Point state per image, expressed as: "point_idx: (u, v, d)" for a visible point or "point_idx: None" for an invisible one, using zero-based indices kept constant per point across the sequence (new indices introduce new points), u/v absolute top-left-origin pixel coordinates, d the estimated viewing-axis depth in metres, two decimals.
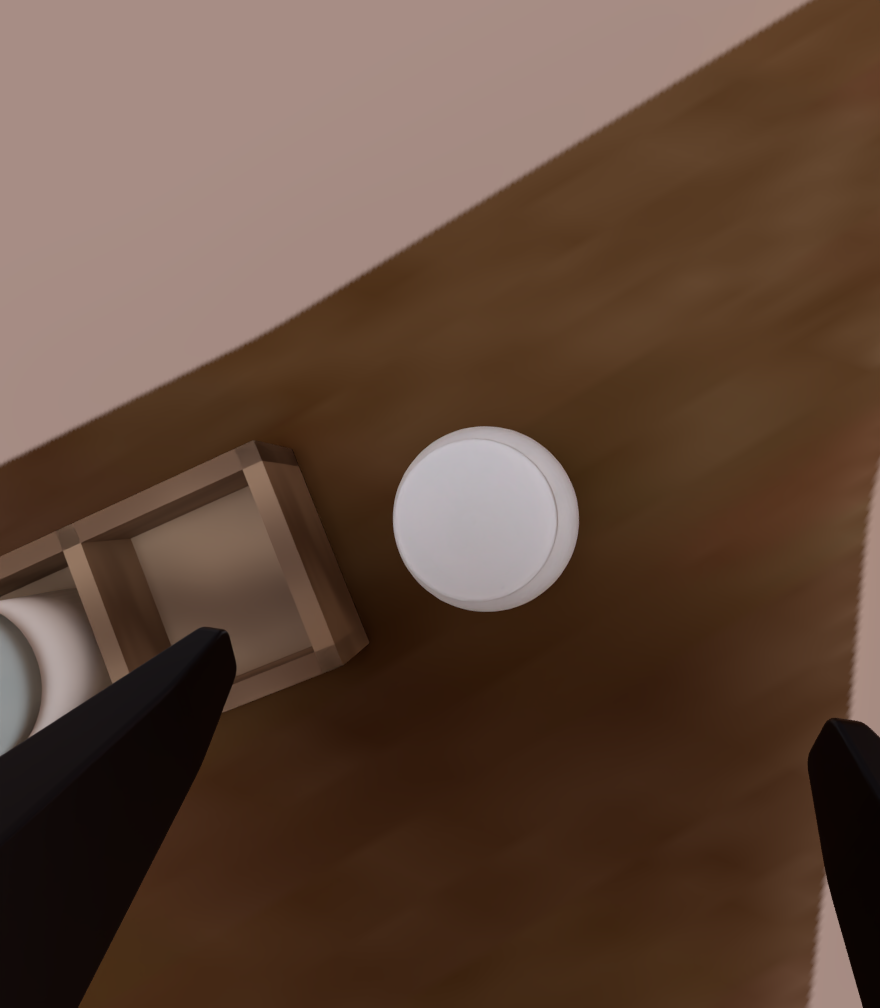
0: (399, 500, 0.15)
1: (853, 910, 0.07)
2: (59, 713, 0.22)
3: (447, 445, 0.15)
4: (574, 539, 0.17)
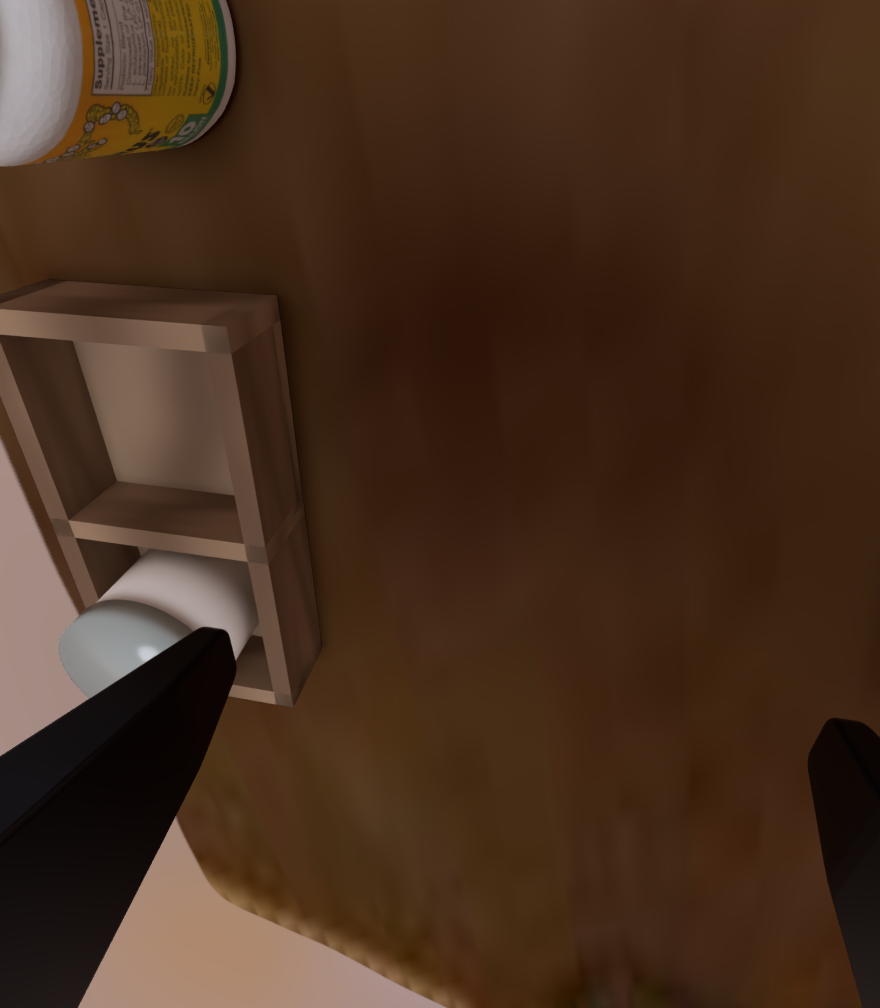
0: None
1: (853, 910, 0.07)
2: (207, 607, 0.23)
3: None
4: None
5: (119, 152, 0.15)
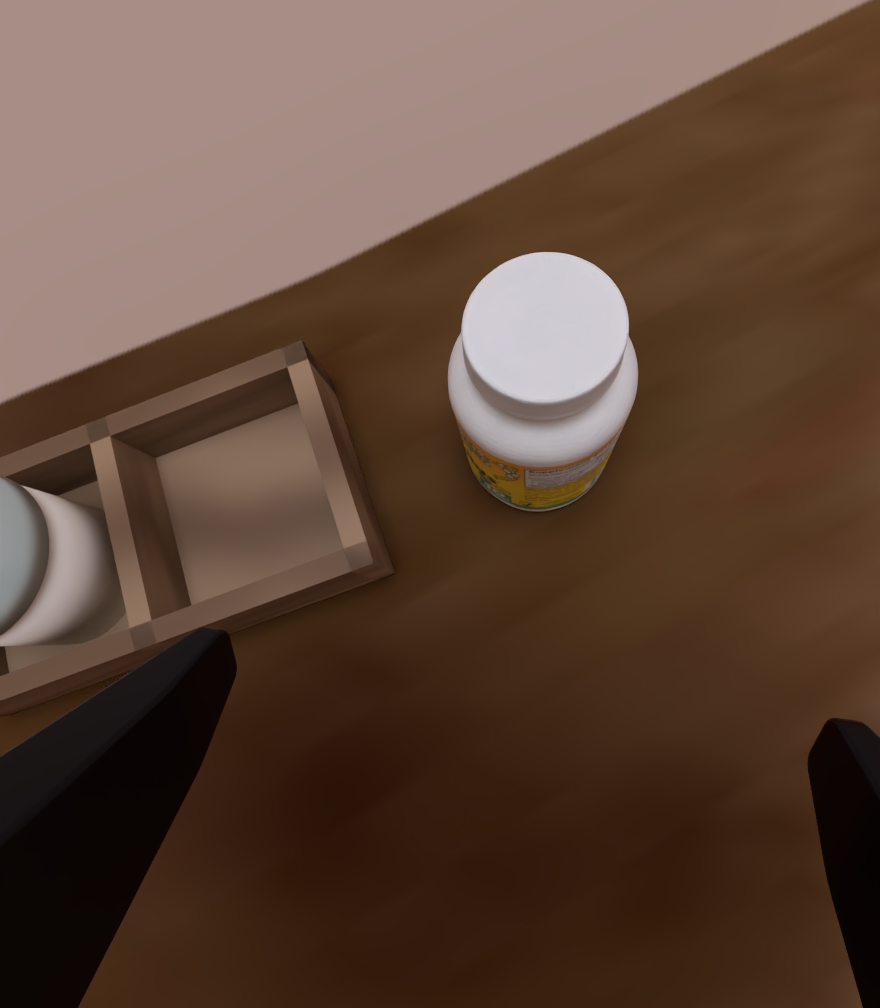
0: (468, 307, 0.15)
1: (853, 910, 0.07)
2: (58, 603, 0.20)
3: (519, 257, 0.15)
4: (634, 389, 0.17)
5: (473, 460, 0.21)
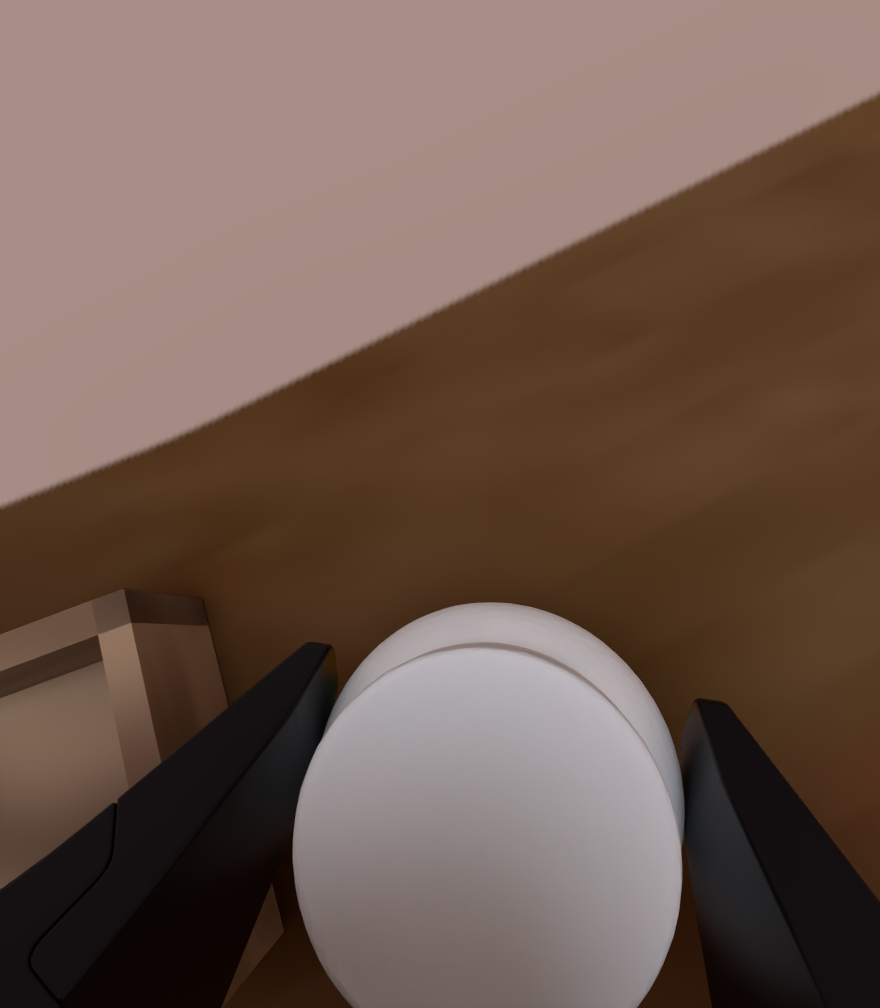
0: (311, 780, 0.07)
1: (701, 882, 0.08)
2: None
3: (428, 659, 0.07)
4: None
5: None
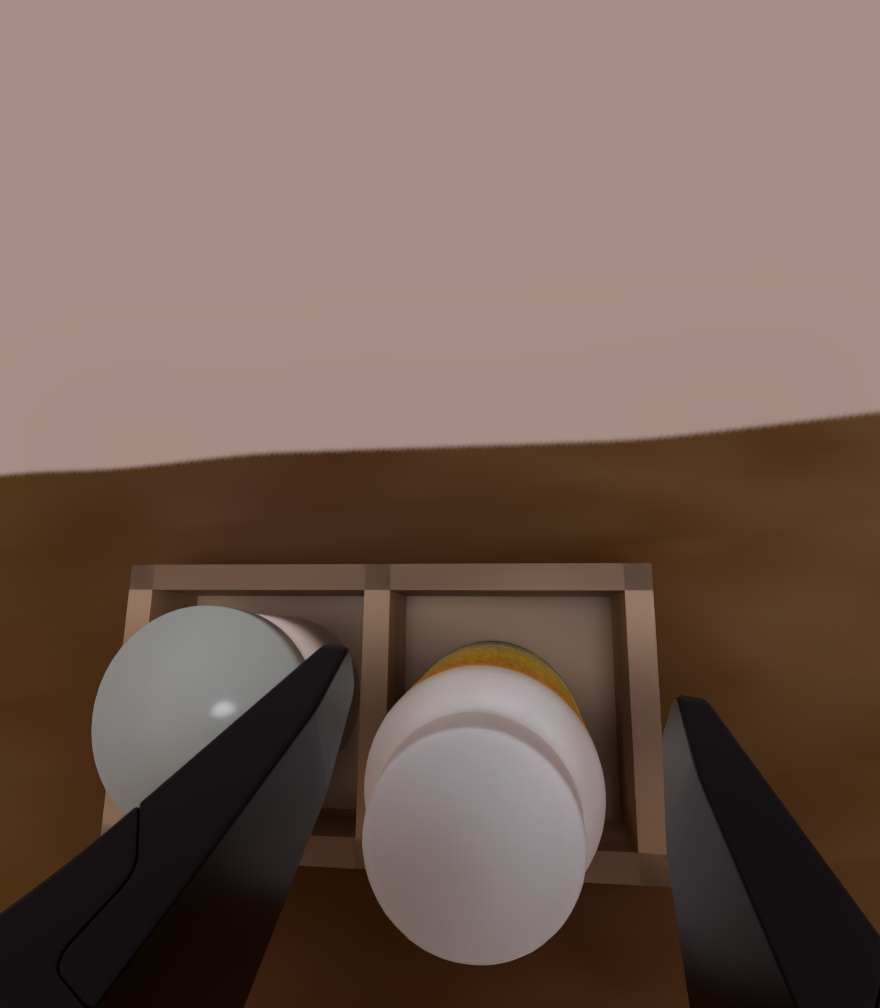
0: (373, 801, 0.11)
1: (680, 877, 0.08)
2: None
3: (444, 734, 0.11)
4: (599, 839, 0.13)
5: None
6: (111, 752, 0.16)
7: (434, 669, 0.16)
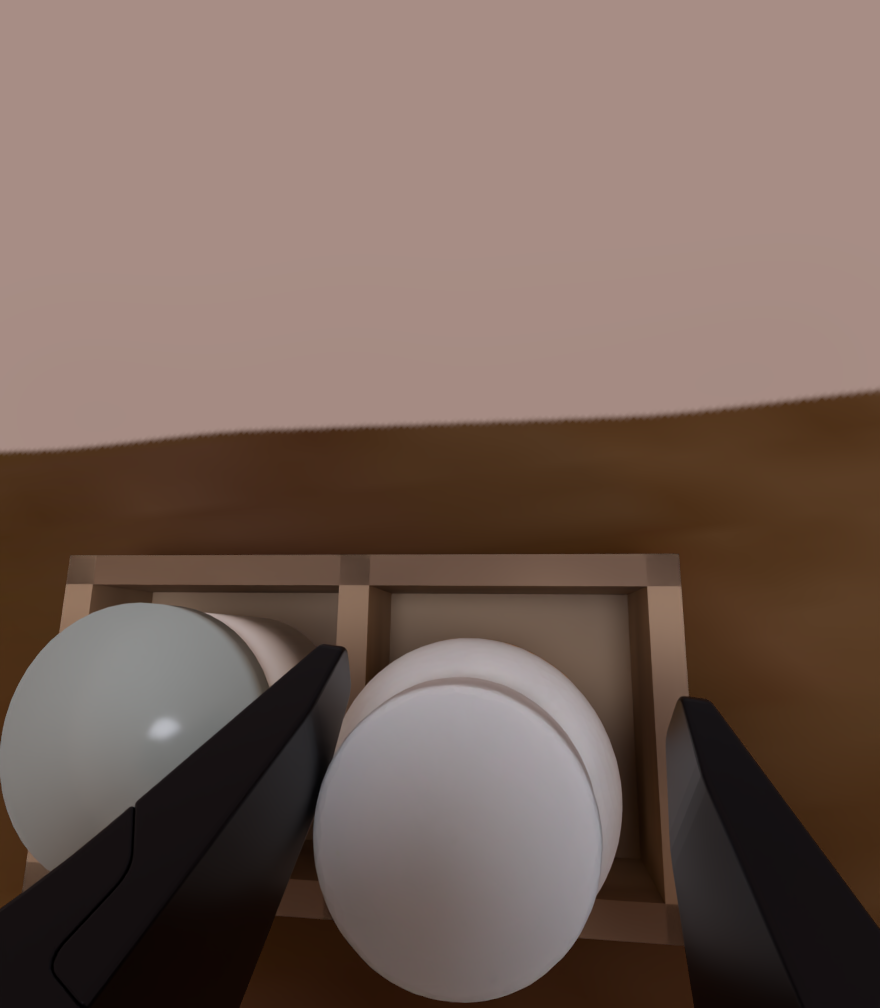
0: (329, 778, 0.09)
1: (684, 878, 0.08)
2: None
3: (423, 692, 0.09)
4: (614, 851, 0.10)
5: None
6: (22, 781, 0.13)
7: None
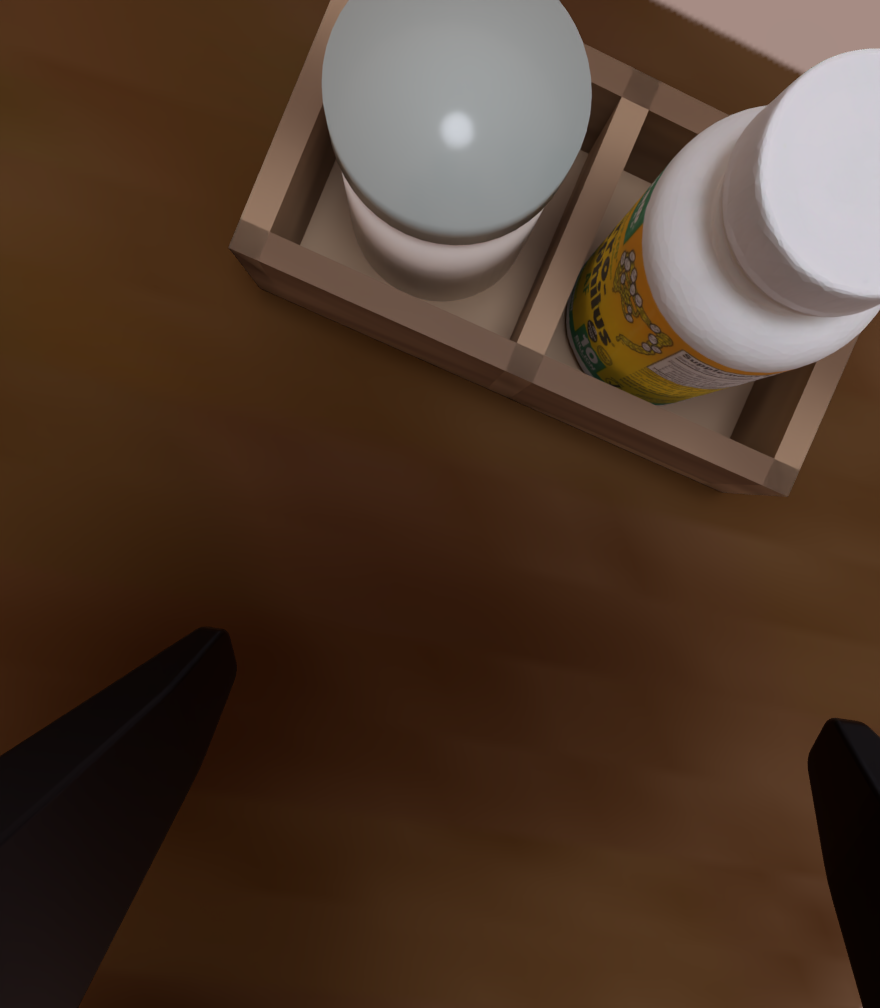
0: (797, 87, 0.10)
1: (853, 910, 0.07)
2: (484, 254, 0.15)
3: None
4: None
5: (598, 302, 0.16)
6: (345, 82, 0.13)
7: None
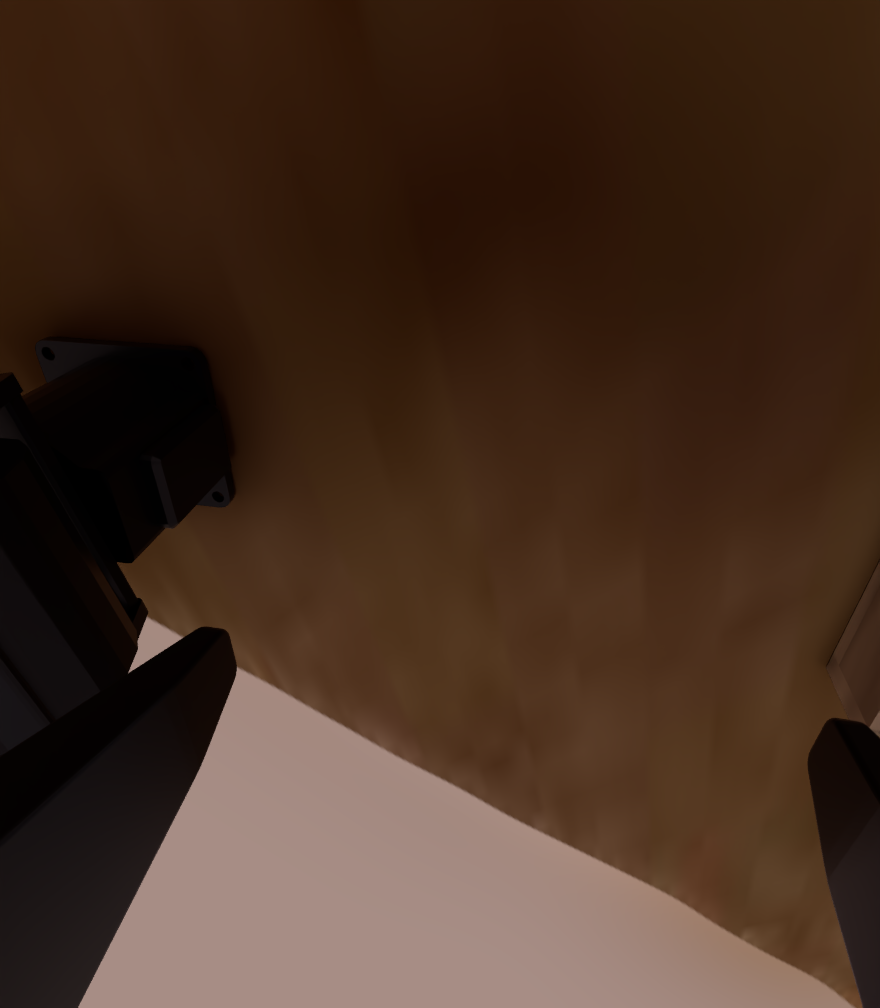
0: None
1: (853, 910, 0.07)
2: None
3: None
4: None
5: None
6: None
7: None
